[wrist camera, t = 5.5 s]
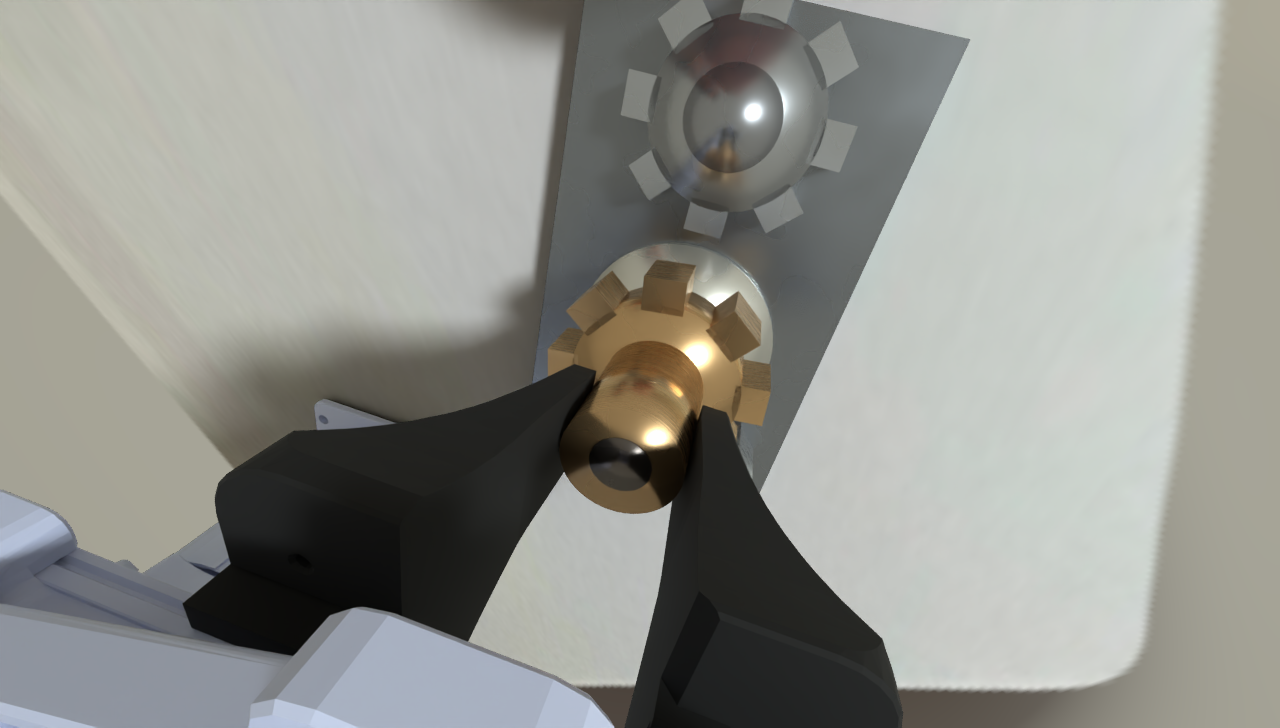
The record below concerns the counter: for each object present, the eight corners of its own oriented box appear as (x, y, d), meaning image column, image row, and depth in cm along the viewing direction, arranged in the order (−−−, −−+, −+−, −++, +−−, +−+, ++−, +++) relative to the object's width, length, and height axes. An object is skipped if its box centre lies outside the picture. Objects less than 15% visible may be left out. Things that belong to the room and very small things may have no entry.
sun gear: (799, 250, 15) (806, 271, 13) (617, 199, 16) (593, 211, 13) (889, 20, 12) (917, -4, 10) (662, -32, 13) (641, -66, 10)
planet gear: (746, 462, 16) (737, 596, 11) (566, 422, 17) (495, 532, 12) (791, 279, 13) (803, 367, 8) (569, 245, 14) (476, 307, 9)
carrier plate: (755, 486, 20) (755, 507, 19) (536, 413, 21) (523, 429, 20) (956, 45, 13) (974, 37, 12) (601, -37, 14) (587, -52, 13)
